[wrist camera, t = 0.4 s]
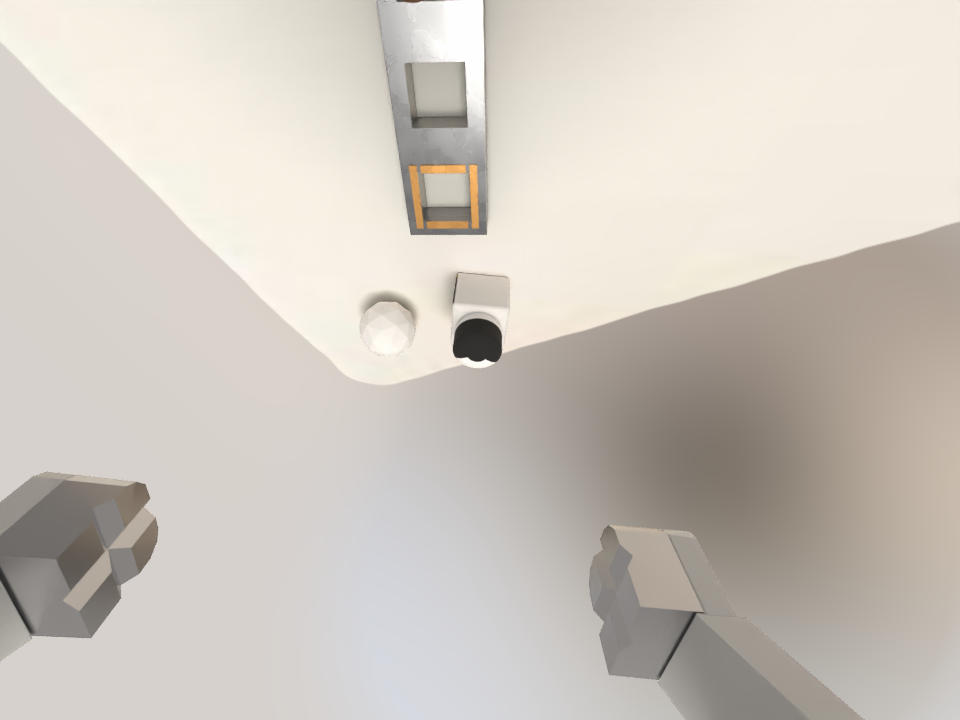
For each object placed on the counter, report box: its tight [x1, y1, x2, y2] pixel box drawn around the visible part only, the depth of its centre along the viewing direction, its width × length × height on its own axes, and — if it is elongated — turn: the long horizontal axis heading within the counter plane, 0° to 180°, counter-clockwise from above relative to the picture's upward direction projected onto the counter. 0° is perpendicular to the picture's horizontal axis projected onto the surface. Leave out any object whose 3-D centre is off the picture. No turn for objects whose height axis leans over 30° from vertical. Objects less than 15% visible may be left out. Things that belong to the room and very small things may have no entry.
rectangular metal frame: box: [377, 0, 488, 235], centre depth 45 cm, size 29×9×4 cm, turn 1°
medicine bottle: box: [451, 273, 510, 368], centre depth 60 cm, size 7×7×12 cm
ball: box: [360, 302, 416, 356], centre depth 64 cm, size 8×8×8 cm
